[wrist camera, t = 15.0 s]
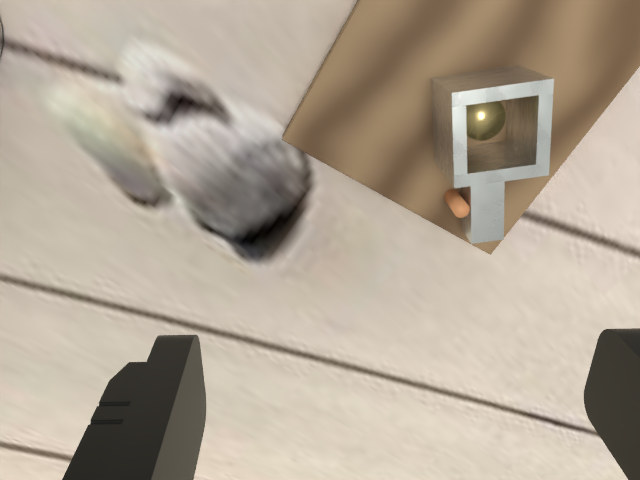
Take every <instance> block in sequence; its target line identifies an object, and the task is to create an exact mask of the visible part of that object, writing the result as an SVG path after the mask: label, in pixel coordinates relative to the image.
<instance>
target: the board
mask: <svg viewBox="0 0 640 480" xmlns="http://www.w3.org/2000/svg"><path fill="white" fill-rule="evenodd" d="M515 65H520V66H523V67H525V68H528V69H531V70H533V71H536V72H539V73H541V74H544V75H546V76H549V77H552V78H554V88H553V108H552V127H551V146H550V165H549V175H548V176H540V177H533V178H526V179H519V180H511V181H505V190H504V237H505V236H506V234H507V233H508V232H509V231H510V229H511V228H512V227H513V226H514V224H515V223H516V222H517V221H518V219H519V218H520V217H521V215H522V214H523V213H524V212H525V210H526V209H527V208H528V207H529V205H530V204H531V203H532V202H533V200H534V199H535V198H536V197H537V195H538V194H539V193H540V191H541V190H542V189H543V188H544V186H545V185H546V184H547V183H548V181H549V180H550V179H551V178H552V176H553V175H554V174H555V173H556V171H557V170H558V169H559V167H560V166H561V165H562V164H563V162H564V161H565V160H566V159H567V157H568V156H569V155H570V154H571V152H572V151H573V150H574V149H575V147H576V146H577V145H578V143H579V142H580V141H581V140H582V138H583V137H584V136H585V135H586V133H587V132H588V131H589V130H590V128H591V127H592V126H593V125H594V123H595V122H596V121H597V119H598V118H599V117H600V116H601V114H602V113H603V112H604V111H605V109H606V108H607V107H608V106H609V104H610V103H611V102H612V101H613V99H614V98H615V97H616V95H617V94H618V93H619V92H620V90H621V89H622V88H623V87H624V85H625V84H626V83H627V82H628V80H629V79H630V78H631V76H632V75H633V74H634V73H635V71H636V70H637V69H638V68H639V66H640V0H358V1H357V3H356V5H355V6H354V8H353V10H352V12H351V14H350V15H349V17H348V19H347V21H346V23H345V24H344V26H343V28H342V30H341V32H340V33H339V35H338V37H337V39H336V41H335V42H334V44H333V46H332V48H331V49H330V51H329V53H328V55H327V57H326V58H325V60H324V62H323V64H322V66H321V67H320V69H319V71H318V73H317V75H316V76H315V78H314V80H313V82H312V84H311V85H310V87H309V89H308V91H307V93H306V94H305V96H304V98H303V100H302V102H301V103H300V105H299V107H298V109H297V110H296V112H295V114H294V116H293V118H292V119H291V121H290V123H289V125H288V127H287V128H286V130H285V132H284V134H283V139H282V140H284V141H285V142H287V143H289V144H291V145H293V146H294V147H296V148H298V149H300V150H302V151H304V152H305V153H307V154H309V155H311V156H313V157H314V158H316V159H318V160H320V161H322V162H323V163H325V164H327V165H329V166H331V167H333V168H334V169H336V170H338V171H340V172H342V173H343V174H345V175H347V176H349V177H351V178H352V179H354V180H356V181H358V182H360V183H362V184H363V185H365V186H367V187H369V188H371V189H372V190H374V191H376V192H378V193H380V194H381V195H383V196H385V197H387V198H389V199H391V200H392V201H394V202H396V203H398V204H400V205H401V206H403V207H405V208H407V209H409V210H411V211H412V212H414V213H416V214H418V215H420V216H421V217H423V218H425V219H427V220H429V221H430V222H432V223H434V224H436V225H438V226H440V227H441V228H443V229H445V230H447V231H449V232H450V233H452V234H454V235H456V236H458V237H459V238H461V239H463V240H465V241H467V242H469V243H470V244H471V242H470V241H469V239H468V238H467V236H466V235H465V233H464V232H463V230H462V228H461V218H459V217H456V216H455V214H454V213H453V211H452V210H451V208H450V207H449V205H448V204H447V202H446V201H445V199H444V195H445V193H446V192H447V191H448V190H450V189H455V190H457V191H458V192H459V194H460V188H454V187H453V186H452V185H451V183H450V182H449V181H448V179H447V178H446V176H445V175H444V174H443V172H442V171H441V170H440V168H439V167H438V166H437V164H436V163H435V162H434V139H433V116H432V93H431V78H432V77H439V76H446V75H453V74H460V73H467V72H474V71H481V70H488V69H495V68H502V67H509V66H515ZM499 102H500V103H501V104H502V105H503V107H504V109H505V112H506V100H500V101H499ZM505 133H506V120H505V124H504V126H503V128H502V130H501V131H500V132H499V133H498V134H497V135H496V136H494V137H493V138H491V139H488V140H484V141H478V140H474V139H472V138H470V137H469V136H468V135H467V146H470V145H477V144H485V143H492V142H499V141H505ZM501 241H502V240H496V241H488V242H481V243H474V244H472V245H474V246H476V247H478V248H479V249H481V250H483V251H485V252H487V253H488V254H490V255H491V253H492V252H493V251H494V250H495V248H496V247H497V246H498V245H499V243H500V242H501Z"/></svg>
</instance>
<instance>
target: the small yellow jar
mask: <svg viewBox="0 0 640 480" xmlns="http://www.w3.org/2000/svg"><path fill="white" fill-rule="evenodd" d="M505 120H506V112H505V109H504V107H503V105H502V104H501V103H500V102H499V101H493V102H486V103H479V104H472V105H466V123H467V135H468V136H469V137H470V138H472V139H474V140H478V141H484V140H488V139H491V138H493V137H494V136H496V135H497V134H498V133H499V132H500V131H501V130H502V128H503V126H504V124H505Z"/></svg>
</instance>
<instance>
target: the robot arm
mask: <svg viewBox="0 0 640 480" xmlns="http://www.w3.org/2000/svg"><path fill="white" fill-rule="evenodd" d="M2 45H3V37H2V26H1V22H0V55H1V50H2ZM584 404H585V409H586V413H587V415H588V418H589V420H590V422H591V423H592V425H593V426H594V428H595V429H596V431H597V433H598V434H599V436H600V437H601V439H602V440H603V442H604V443H605V445H606V446H607V448H608V449H609V451H610V452H611V454H612V455H613V457H614V458H615V460H616V461H617V463H618V464H619V466H620V467H621V469H622V470H623V472H624V474H625V475H626V477H627V478H628V480H640V329H606V330H604V331H602V333H601V334H600V336H599V338H598V342H597V345H596V349H595V353H594V356H593V360H592V364H591V367H590V371H589V375H588V378H587V382H586V385H585V390H584ZM205 419H206V393H205V385H204V376H203V367H202V358H201V349H200V342H199V338H198V336H197V335H162V336H158V337H157V338H156V340H155V343H154V345H153V348H152V350H151V353H150V355H149V357H148V360H147V362H129V363H128V364H127V365H126V366H125V367H124V368H123V369H122V370H121V371H119V372H118V373H117V374H116V375H115V376H114V377H113V378H112V379H111V380H110V381H109V383H108V385H107V387H106V389H105V391H104V393H103V395H102V397H101V400H100V402H99V406H97V408H96V410H95V412H94V414H93V416H92V418H91V424H90V425H88V427H87V429H86V431H85V433H84V435H83V437H82V439H81V441H80V444H79V446H78V448H77V450H76V452H75V454H74V456H73V458H72V460H71V462H70V464H69V467H68V469H67V471H66V473H65V475H64V477H63V479H62V480H193V479H194V474H195V469H196V465H197V460H198V455H199V451H200V446H201V441H202V437H203V432H204V427H205Z"/></svg>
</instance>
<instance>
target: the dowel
mask: <svg viewBox="0 0 640 480" xmlns="http://www.w3.org/2000/svg"><path fill="white" fill-rule="evenodd" d="M444 199H445V201H446V202H447V204H448V205H449V207H450V208H451V210H452V211H453V213H454V214H455V216H456V217H459V218H463V217H465V216H467V215H468V213H469V211H470V208H469V206H468V204H467V203H466V202H465V200H464V199H463V198H462V196H461V195H460V194H459V192H458V191H457V190H455V189H450V190H448V191H447V192H446V193H445V195H444Z"/></svg>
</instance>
